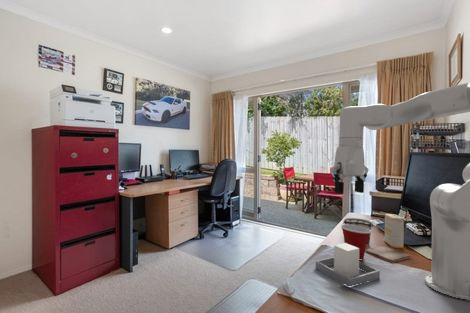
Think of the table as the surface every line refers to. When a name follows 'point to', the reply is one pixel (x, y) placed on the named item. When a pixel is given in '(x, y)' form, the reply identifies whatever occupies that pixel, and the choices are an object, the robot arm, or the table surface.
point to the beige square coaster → (387, 254)
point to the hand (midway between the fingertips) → (349, 192)
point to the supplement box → (394, 230)
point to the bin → (370, 275)
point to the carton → (346, 259)
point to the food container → (359, 224)
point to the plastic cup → (356, 237)
